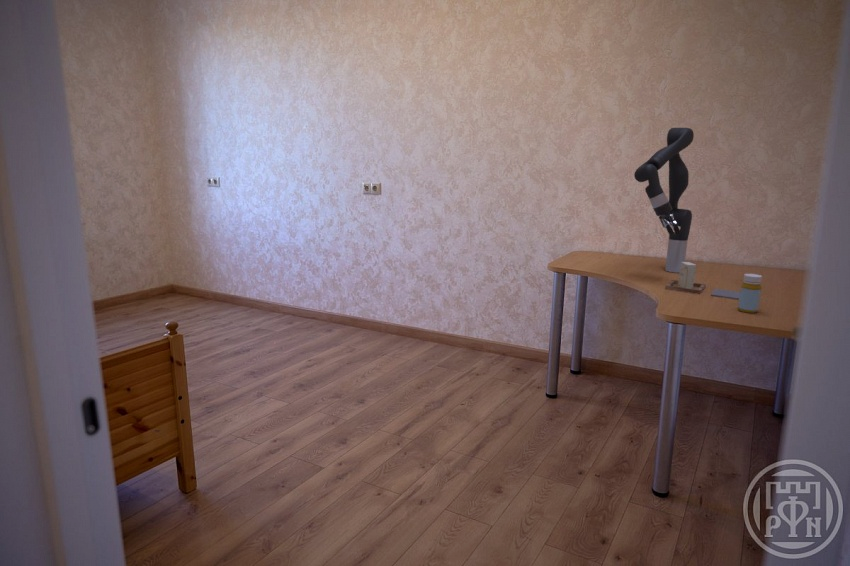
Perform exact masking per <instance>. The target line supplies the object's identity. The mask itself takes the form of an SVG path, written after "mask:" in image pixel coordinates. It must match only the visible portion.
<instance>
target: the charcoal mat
mask: <svg viewBox="0 0 850 566" xmlns="http://www.w3.org/2000/svg"><path fill="white" fill-rule="evenodd" d="M740 292H741V291H734V290H728V289H721V288H715V289H713V291H712V292H711V294H710V296H711V297H716V296H717V298H718V297H719V298H723V297H724V299H725V298H726V299H730V298H731V299H732V300H738V301H739V298H740Z"/></svg>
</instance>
